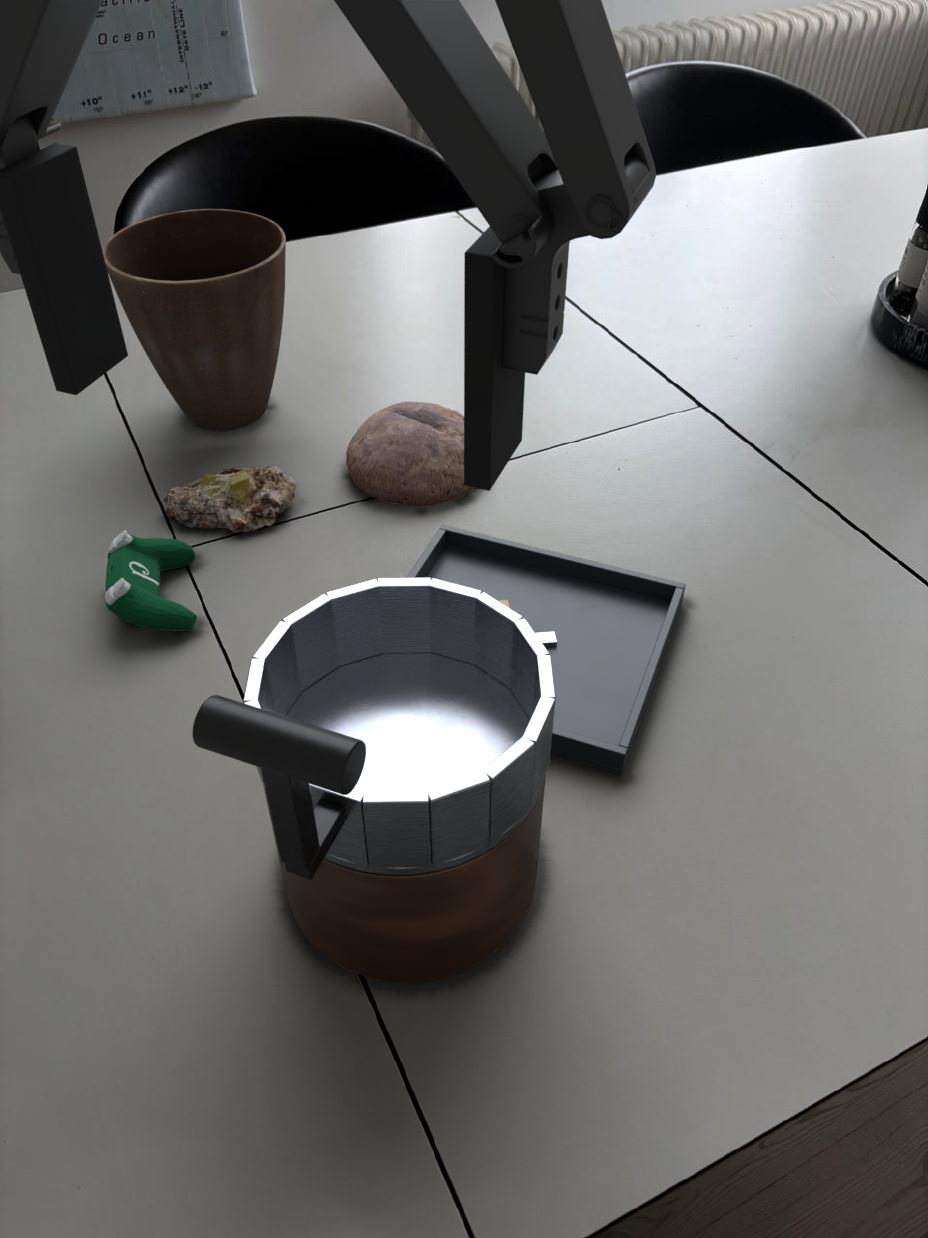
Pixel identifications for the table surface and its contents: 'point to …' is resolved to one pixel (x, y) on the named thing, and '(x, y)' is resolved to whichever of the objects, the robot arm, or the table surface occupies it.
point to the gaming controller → (146, 581)
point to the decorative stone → (410, 455)
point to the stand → (419, 910)
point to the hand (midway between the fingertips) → (281, 416)
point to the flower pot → (205, 307)
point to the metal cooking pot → (392, 726)
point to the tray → (574, 632)
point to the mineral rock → (232, 499)
